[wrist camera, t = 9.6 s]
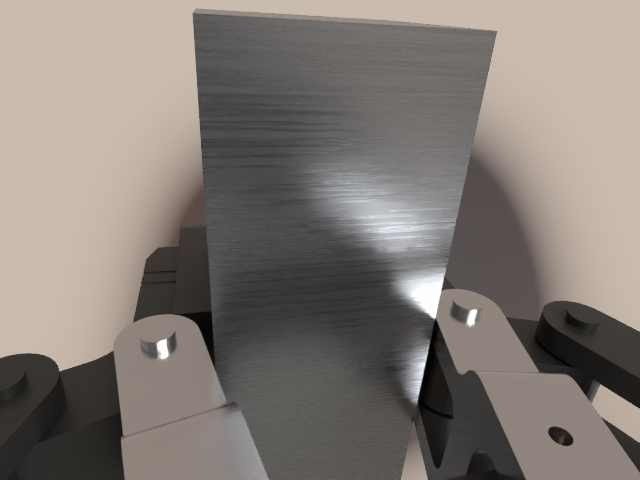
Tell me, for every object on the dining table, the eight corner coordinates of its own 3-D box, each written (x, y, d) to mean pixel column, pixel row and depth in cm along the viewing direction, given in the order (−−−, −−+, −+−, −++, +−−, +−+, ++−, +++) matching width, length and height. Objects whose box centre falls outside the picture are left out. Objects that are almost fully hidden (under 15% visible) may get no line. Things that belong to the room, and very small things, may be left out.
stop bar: (234, 657, 11) (192, 13, 5) (226, 515, 14) (195, 8, 8) (369, 621, 12) (496, 30, 5) (335, 494, 15) (390, 20, 8)
